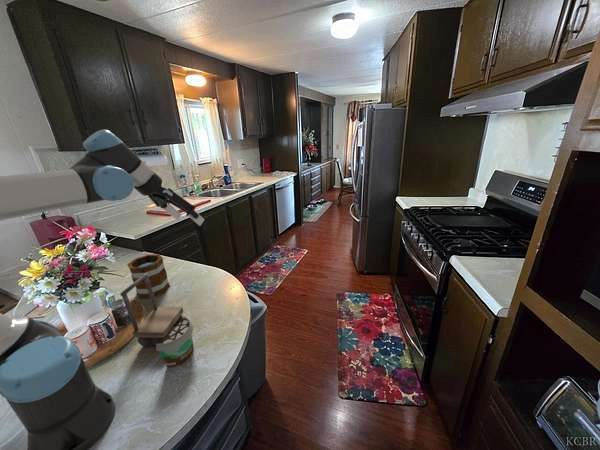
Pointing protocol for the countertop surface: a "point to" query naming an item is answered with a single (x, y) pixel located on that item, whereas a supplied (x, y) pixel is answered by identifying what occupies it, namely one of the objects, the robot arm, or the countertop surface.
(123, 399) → the countertop surface
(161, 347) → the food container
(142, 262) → the mug
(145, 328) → the trolley
